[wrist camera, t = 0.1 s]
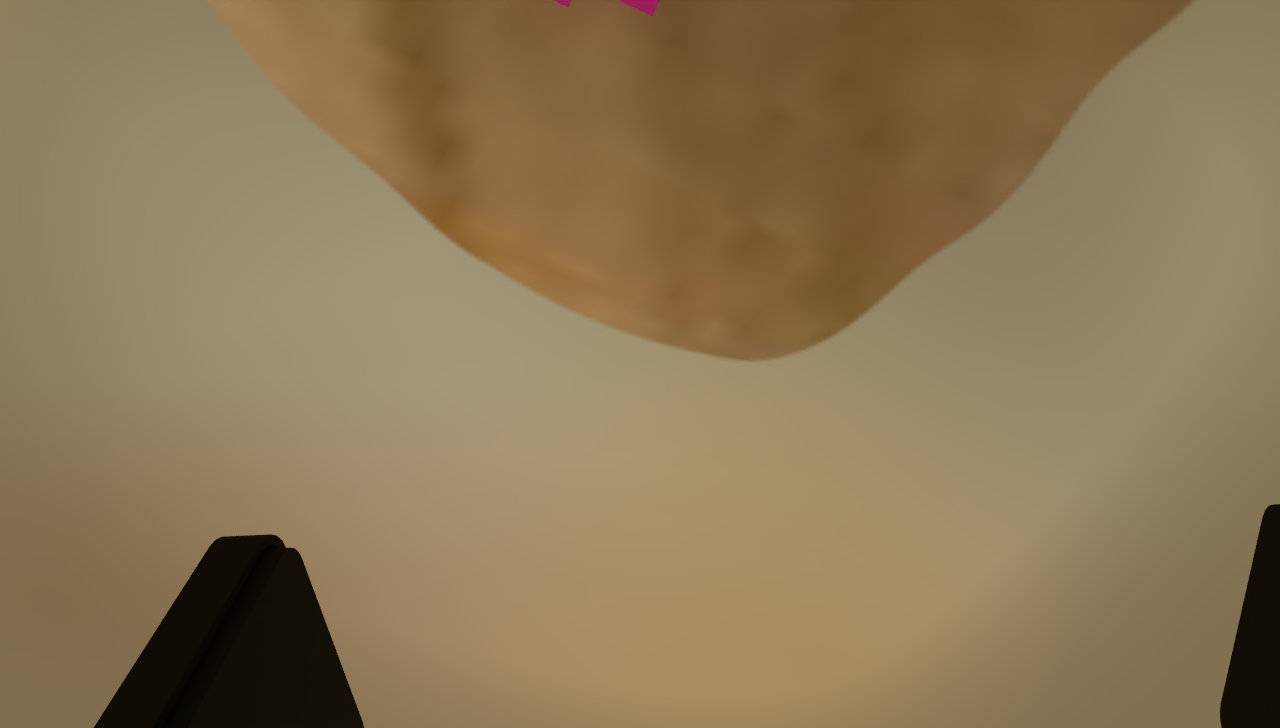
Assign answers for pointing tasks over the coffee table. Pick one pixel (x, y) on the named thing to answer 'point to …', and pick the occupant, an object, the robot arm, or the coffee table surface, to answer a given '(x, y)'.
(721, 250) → the coffee table surface
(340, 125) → the coffee table surface
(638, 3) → the toy block
